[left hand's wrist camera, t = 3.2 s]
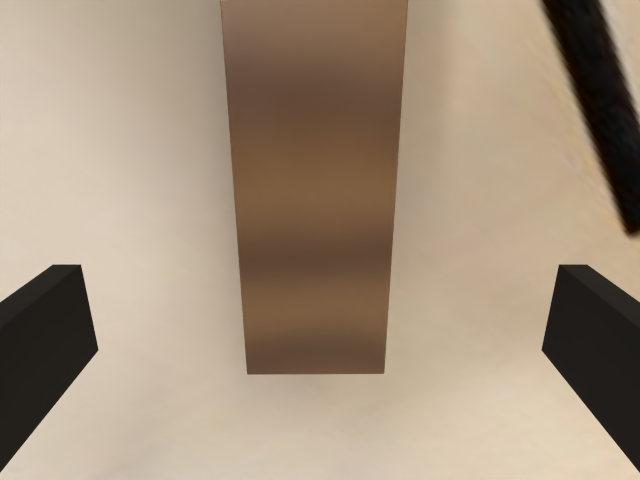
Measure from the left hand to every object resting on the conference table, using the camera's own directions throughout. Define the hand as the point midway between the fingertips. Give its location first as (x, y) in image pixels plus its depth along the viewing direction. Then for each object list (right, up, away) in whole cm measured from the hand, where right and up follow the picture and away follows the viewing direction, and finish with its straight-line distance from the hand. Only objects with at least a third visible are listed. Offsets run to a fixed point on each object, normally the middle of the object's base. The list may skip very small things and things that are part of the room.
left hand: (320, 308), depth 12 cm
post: (0, +35, 0) cm, 35 cm away
